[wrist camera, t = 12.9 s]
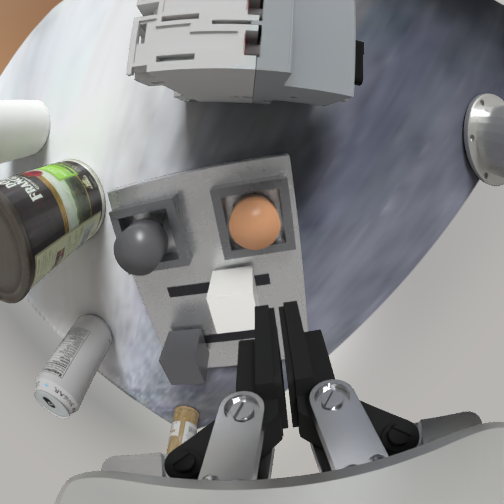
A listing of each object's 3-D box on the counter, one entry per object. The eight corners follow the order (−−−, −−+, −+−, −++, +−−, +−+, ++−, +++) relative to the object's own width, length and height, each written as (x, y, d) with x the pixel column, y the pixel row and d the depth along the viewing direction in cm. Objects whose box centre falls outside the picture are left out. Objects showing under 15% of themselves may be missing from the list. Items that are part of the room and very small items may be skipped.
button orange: (273, 190, 25) (276, 197, 22) (279, 233, 27) (283, 245, 24) (227, 197, 25) (224, 205, 23) (235, 240, 27) (234, 253, 24)
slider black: (200, 328, 31) (194, 358, 27) (209, 353, 33) (205, 383, 28) (168, 331, 32) (158, 360, 27) (179, 355, 33) (171, 384, 29)
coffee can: (44, 153, 25) (-43, 179, 13) (112, 167, 27) (26, 200, 14) (40, 231, 29) (-31, 282, 16) (101, 252, 31) (36, 320, 18)
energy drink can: (91, 344, 37) (50, 418, 23) (72, 313, 34) (21, 385, 21) (121, 343, 36) (83, 424, 23) (102, 309, 34) (52, 390, 20)
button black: (161, 214, 24) (151, 225, 21) (173, 257, 26) (165, 272, 23) (121, 223, 24) (107, 234, 22) (134, 263, 26) (122, 278, 23)
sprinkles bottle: (171, 404, 42) (157, 470, 30) (196, 404, 42) (186, 473, 30) (178, 418, 44) (167, 480, 32) (202, 418, 44) (195, 483, 31)
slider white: (252, 265, 28) (252, 291, 24) (258, 298, 30) (259, 328, 25) (212, 271, 28) (206, 298, 24) (221, 303, 30) (216, 333, 25)
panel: (285, 153, 27) (292, 156, 23) (306, 342, 36) (311, 366, 32) (117, 187, 28) (98, 197, 24) (176, 357, 37) (170, 380, 33)
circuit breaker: (330, 111, 25) (408, 98, 11) (185, 102, 24) (121, 75, 11) (334, 45, 22) (403, -13, 8) (191, 35, 21) (142, -37, 8)
